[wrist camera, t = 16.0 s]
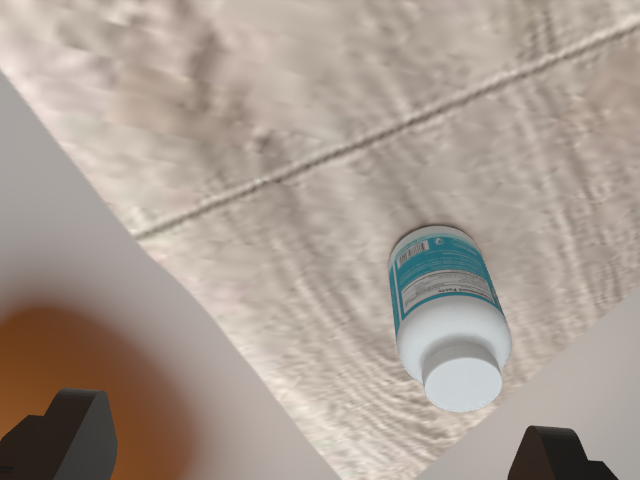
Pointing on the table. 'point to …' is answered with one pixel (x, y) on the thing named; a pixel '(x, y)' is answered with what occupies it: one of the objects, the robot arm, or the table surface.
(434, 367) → the pill bottle
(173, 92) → the table surface
